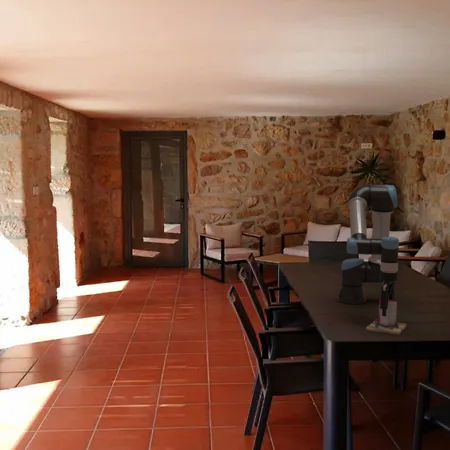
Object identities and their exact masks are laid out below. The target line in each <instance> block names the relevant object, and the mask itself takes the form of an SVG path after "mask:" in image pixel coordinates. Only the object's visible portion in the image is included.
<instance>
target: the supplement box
mask: <svg viewBox="0 0 450 450" xmlns="http://www.w3.org/2000/svg"><path fill="white" fill-rule="evenodd" d="M380 303H381V299H379V302H378V317H377V319H378V322H379V323H378V324H379V325H381V326H383V327H390V324H393V327H395V326H396V322H397V309H398V308H397V304H398V302H397V301H396V300H395V301H393V300H390V299H389V301H388V307H387V309H388V323H387V324H385V323H381V309H380V308H379V307H380Z"/></svg>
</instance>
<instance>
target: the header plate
mask: <svg viewBox="0 0 450 450" xmlns="http://www.w3.org/2000/svg"><path fill="white" fill-rule="evenodd" d="M378 323H379V322H378V318H374V321H372V323H370V324H369V325H367V326H366V328H365V330H366V331H370V332H377V333H385V334H390V335H397V336H398V335H400V334H401V333H402V331H404V329H406V327H407V326H408V324H407V323H404V322H403V323H401V322H399V321H396V326H395V327H393V324H390V327H383V326H381V325H379V324H378Z"/></svg>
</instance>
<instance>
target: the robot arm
mask: <svg viewBox="0 0 450 450" xmlns="http://www.w3.org/2000/svg"><path fill="white" fill-rule="evenodd" d="M347 208H348V209H349V216H350V217H349V218H350V220H349V221H350V222H349V223H350V226H349V227H350V237H347V240H346V253H347V254H351V255H370V256H369V257H368V259H367V261H365V259H364V258H355V257H354V258H348V259H345V260H343V261H342V262H341V277H340V278H341V280H340V283H341V284H340V285H341V286H340V288H339V291H338V294H337V301H338V302H339V303H342V304H348V305H362V304H365V303H366V302H367V298H366V294H365V291H364V284H376V285H377V284H380V285H381V292H380V293H381V295H380V300H381V303H380V307H379V306H378V309H379V308H380V309H381V323H385V324H387V323H388V309H387V307H388V301H389V299H390V300H393V301H396V299H395V296H396V295H395V294H396V293H395V291H396V290H395V289H396V288H395V285H396V282H397V281H398V271H399V251H400V250H399V249H400V248H399V247H400V244H399V243H400V242H399V241H400V240H399V237H395V236H390V231H391V230H390V228H391V227H390V226H391V214H392V213H394V211H395V209H396V208H398V194H397V188H396V186H395V185H393V184H391V185H390V184H361V185H359V186H357V187H356V188H355V189H353V191H352V192H351V193H350V195H349V196H348V199H347ZM367 208H370V211H371V212H372V213H373V216H372V217H373V218H372V219H373V220H372V233H371V234H372V235H371V237H372V238H368V234H367V230H368V229H367V218H366V216H367V214H366V209H367Z"/></svg>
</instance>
